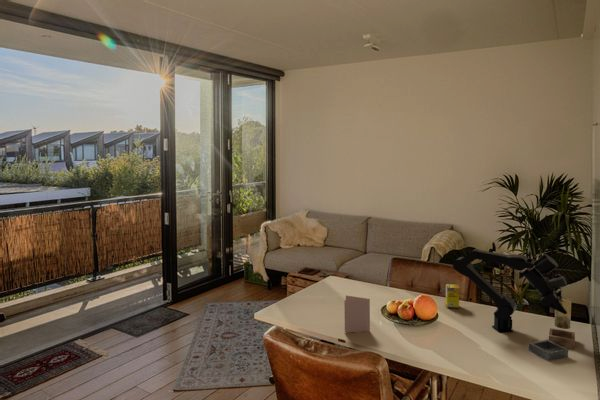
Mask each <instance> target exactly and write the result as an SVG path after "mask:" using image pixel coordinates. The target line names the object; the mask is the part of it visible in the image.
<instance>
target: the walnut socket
mask: <svg viewBox="0 0 600 400" xmlns="http://www.w3.org/2000/svg"><path fill="white" fill-rule="evenodd" d="M575 335H576V333H575V331H570V330H566V329H560V328H552V327H549V331H548V340H550V341H552V342H554V343H556V344H558V345H560V346H562V347H564V348H567V349H568V348H570V349H575V345H576V344H575V343H576V336H575Z"/></svg>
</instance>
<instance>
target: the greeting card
mask: <svg viewBox="0 0 600 400" xmlns="http://www.w3.org/2000/svg"><path fill="white" fill-rule="evenodd" d="M343 302H344V333H345V332H355V333H364V332H363V331H369V332H370V331H371V315H370V314H371V310H370V309H371V307H370V306H371V305H370V304H371V301H370V298H366V297H360V296H359V297H357V296H354V295H353V296H352V295H345V300H344V301H343Z"/></svg>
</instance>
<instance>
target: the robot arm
mask: <svg viewBox="0 0 600 400" xmlns="http://www.w3.org/2000/svg"><path fill="white" fill-rule="evenodd" d="M476 260H480V261H485V262H489V263H494V264H499V265H504V266H507V267H508V268H510V269H513V270H515V271H519V272H518V279H519V280H521V279H522V278H525V280H527V282H529V283H530V284H531V285H532V288H533V290H534V291H535V290H536V291H537V292H538V293H539V294H540V297H541V298H540V301H539V304H540V305H541V306H542V307H543V308H545V307H548V308H550V309H553V310H554V311H555V310H557V311H559V312H561V313H563V314H567V311H566V310H565V308H564V307H563V306H562V304H561V303H560V302H559V298H563V295H562V293H563V292H562V291H563V289H562V288H564V287H567V285H568V282H567V280H566V277H564V275H561V274H560V273H557V274H555V275H554V278H552V279H549V277H544V275H549V274H550V273H551V272H553V271H554V270H555V269H557V268H558V267H559V264H558V263H557V261H556V260H555V259H554V258H552V257H551V256H549V255H547V253H544V254H543V255H542V256H540V257H539V258H538V259H533V258H530V257H527V255H525V254H514V253H513V254H504V253H499V252H498V253H497V252H493V251H492V252H491V251H486V250H481V249H478V248H475V249H473V250H472V251H470V252H469V253H468V254H466V255H465V256H460V257H458V258H457V259H455V260H454V261H453V263H452V267H453V270H454V271H456V272H457V273H458V274H460V275H462V276H464V277H466V278H468V279H469V280H470V281H471V282H472V283H474V284H475V285H476V287H478V288H479V289H480V290H481V291H482V292H483V293H484V294H485V295H487V296H488V297H489V299H491V300H492V301H493V303H494V305H495V307H496V310H495V311H494V312H493V316H494V318H493V325H492V326H491V328H493V329H494V330H495V331H497V332H498V333H509V332H510V333H511V332H514V329H513V319H512V316H511V315H513V314H514V313H515V312H516V310H517V307H518V306H517V303H516V301H515V298H513V297H511V295H510V294H508V293H505V294H503V293H501V292H500V291H499V290H497V289H496V287H494V286H493V285H492V284H491V283H490V282H489V281H487V280H486V279H485V277H483V276H482V275H481V274H480V273H479V272H478V271H476V268H475V267H474V265H473V264H472V262H473V261H476Z"/></svg>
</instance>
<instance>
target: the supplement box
mask: <svg viewBox="0 0 600 400" xmlns="http://www.w3.org/2000/svg"><path fill="white" fill-rule="evenodd" d="M444 304H445V307H446V308H447V307H448V308H447V309H453V308H459V309H460V287H459V285H458V284H453V283H452V284H451V283H446V284H445V302H444Z"/></svg>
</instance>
